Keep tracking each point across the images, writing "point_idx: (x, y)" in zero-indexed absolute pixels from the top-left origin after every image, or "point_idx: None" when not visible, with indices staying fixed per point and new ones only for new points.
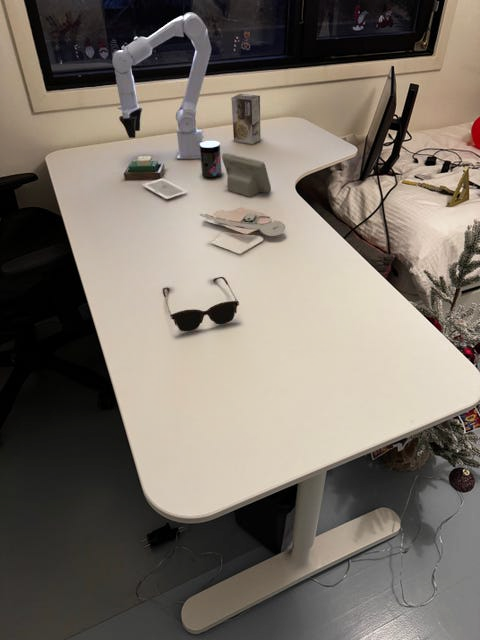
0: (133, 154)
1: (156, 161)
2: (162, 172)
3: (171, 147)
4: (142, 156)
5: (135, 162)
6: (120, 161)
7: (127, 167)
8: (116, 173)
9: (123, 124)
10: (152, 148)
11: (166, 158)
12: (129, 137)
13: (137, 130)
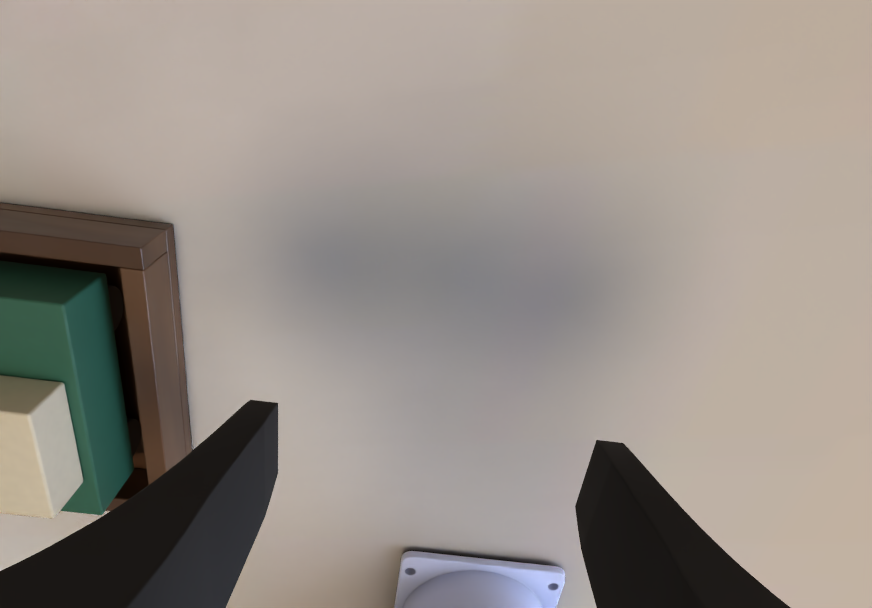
0: (646, 214)
1: (75, 508)
2: None
3: (704, 513)
4: (22, 447)
5: (29, 344)
6: (460, 88)
7: (38, 238)
8: (101, 83)
9: (40, 559)
10: (751, 379)
11: (447, 483)
12: (245, 409)
13: (584, 490)
